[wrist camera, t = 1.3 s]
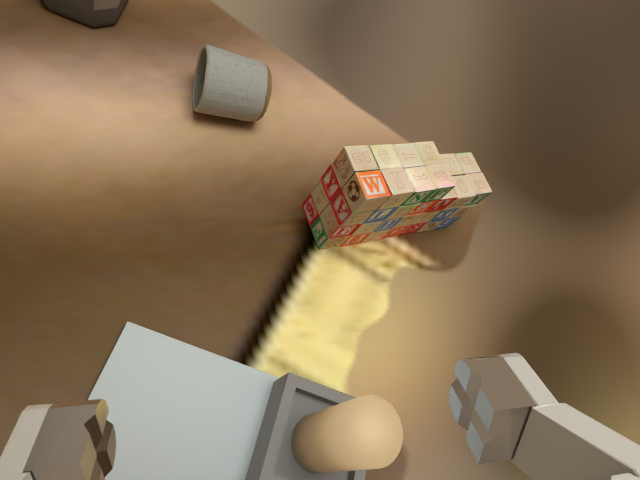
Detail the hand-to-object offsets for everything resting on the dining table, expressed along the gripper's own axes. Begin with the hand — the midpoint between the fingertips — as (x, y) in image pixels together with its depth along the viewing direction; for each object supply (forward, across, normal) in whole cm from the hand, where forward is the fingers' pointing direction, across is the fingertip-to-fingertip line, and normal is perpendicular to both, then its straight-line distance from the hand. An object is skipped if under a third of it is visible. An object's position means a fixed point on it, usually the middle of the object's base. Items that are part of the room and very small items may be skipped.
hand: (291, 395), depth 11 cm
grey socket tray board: (+18, +5, +29) cm, 34 cm away
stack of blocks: (+44, -16, +19) cm, 51 cm away
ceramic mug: (+54, +3, +5) cm, 54 cm away
